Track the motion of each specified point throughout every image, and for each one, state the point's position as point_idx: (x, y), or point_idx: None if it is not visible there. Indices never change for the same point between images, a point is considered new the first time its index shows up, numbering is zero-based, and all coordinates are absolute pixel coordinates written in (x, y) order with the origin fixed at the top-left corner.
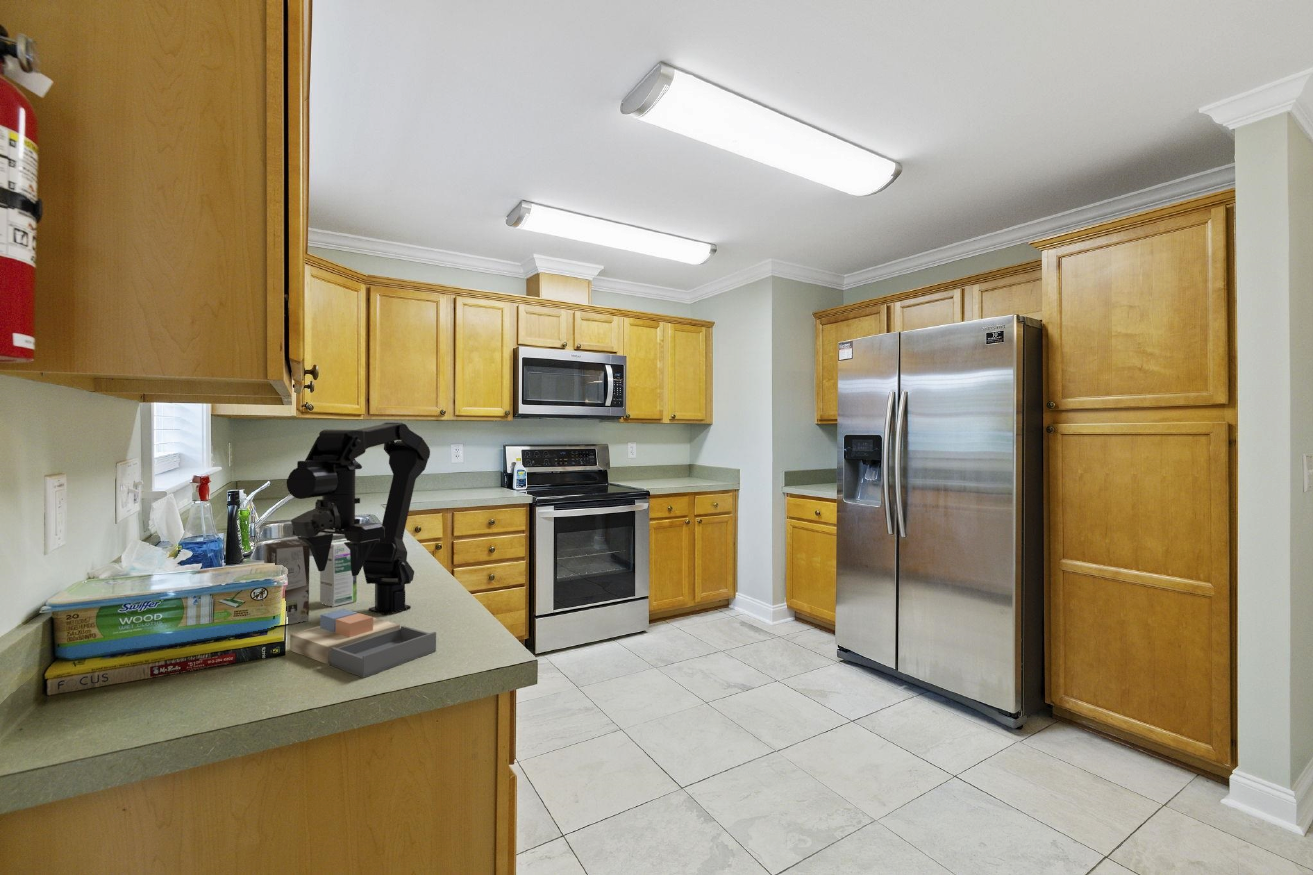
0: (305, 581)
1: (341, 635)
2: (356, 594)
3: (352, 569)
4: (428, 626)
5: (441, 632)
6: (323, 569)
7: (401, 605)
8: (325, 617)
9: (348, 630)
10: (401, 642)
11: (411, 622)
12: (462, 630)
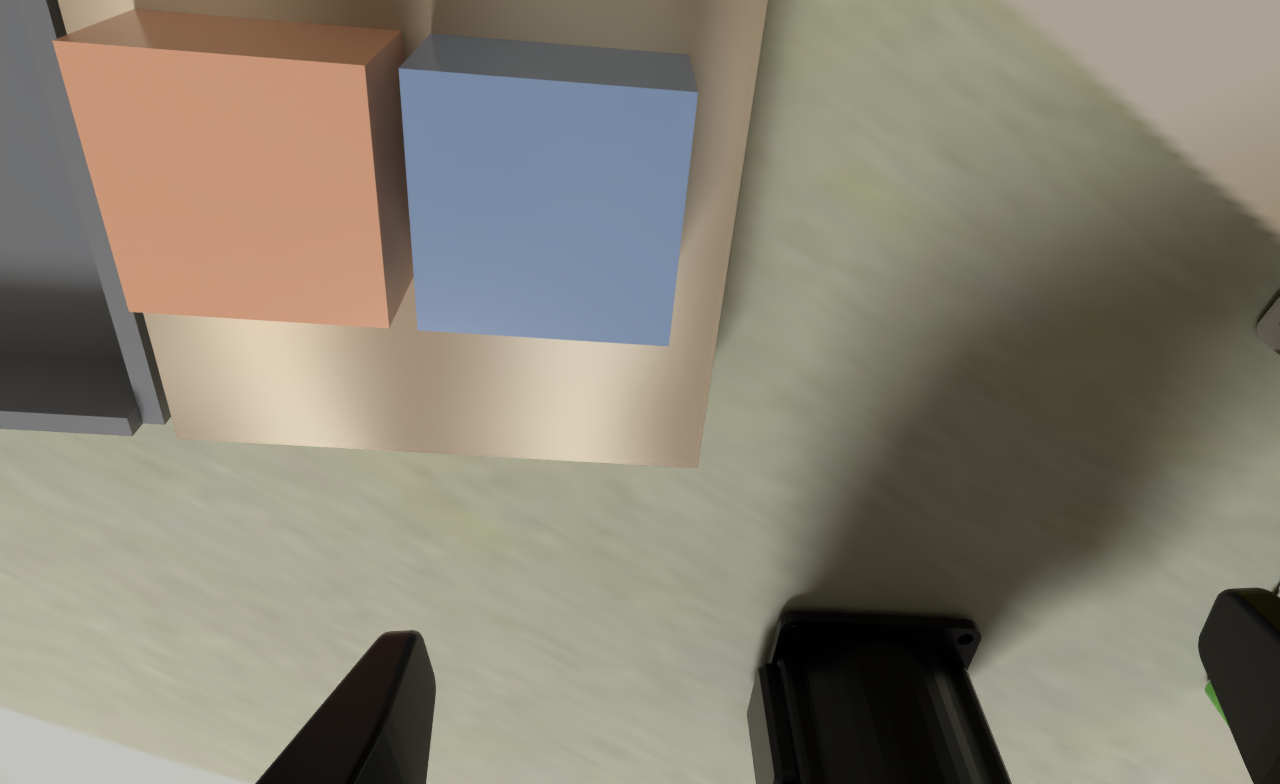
0: None
1: (265, 6)
2: (1229, 727)
3: (337, 719)
4: (354, 597)
5: (177, 566)
6: (1212, 649)
7: (753, 715)
8: (583, 78)
9: (130, 26)
10: (86, 317)
11: (518, 599)
12: (117, 631)
